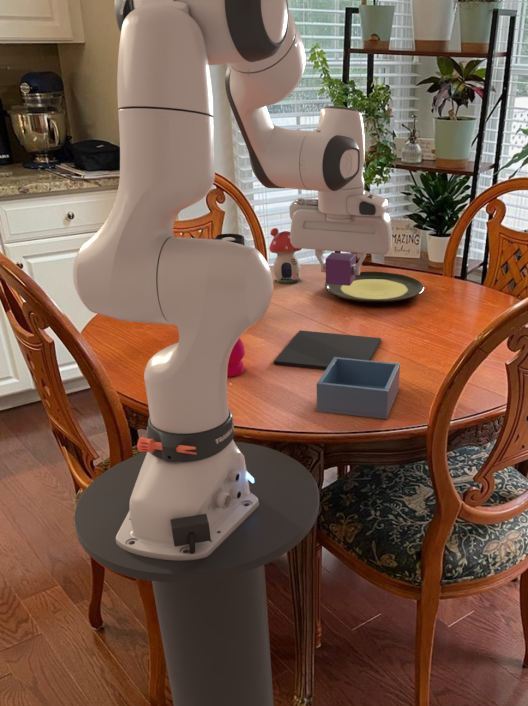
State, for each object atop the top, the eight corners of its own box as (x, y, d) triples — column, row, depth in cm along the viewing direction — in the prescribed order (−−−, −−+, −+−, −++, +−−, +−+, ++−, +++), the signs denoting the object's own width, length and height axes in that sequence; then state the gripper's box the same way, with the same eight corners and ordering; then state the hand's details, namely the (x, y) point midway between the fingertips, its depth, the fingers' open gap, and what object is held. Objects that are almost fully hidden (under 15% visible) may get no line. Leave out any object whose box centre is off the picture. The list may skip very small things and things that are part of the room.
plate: (303, 290, 201) (303, 282, 199) (375, 273, 217) (376, 265, 216) (371, 316, 183) (371, 307, 182) (444, 295, 199) (445, 287, 198)
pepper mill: (234, 362, 156) (227, 270, 146) (252, 372, 151) (246, 278, 141) (205, 369, 152) (196, 276, 142) (222, 380, 148) (214, 285, 137)
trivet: (363, 373, 152) (363, 370, 152) (273, 364, 155) (273, 361, 155) (380, 341, 169) (381, 337, 168) (299, 333, 172) (299, 330, 172)
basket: (386, 419, 134) (387, 391, 131) (316, 411, 136) (316, 383, 133) (398, 390, 145) (400, 363, 142) (334, 383, 148) (334, 356, 145)
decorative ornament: (269, 283, 206) (267, 229, 199) (273, 276, 212) (270, 224, 204) (301, 284, 206) (300, 230, 198) (304, 277, 212) (302, 225, 204)
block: (349, 285, 142) (350, 260, 139) (325, 283, 143) (325, 258, 140) (355, 278, 146) (355, 254, 144) (332, 276, 147) (331, 252, 144)
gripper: (284, 200, 136) (287, 273, 143) (389, 207, 132) (386, 281, 139) (293, 194, 141) (296, 264, 148) (395, 200, 137) (392, 272, 145)
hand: (341, 273), depth 144 cm, fingers closed on block, 5 cm apart
